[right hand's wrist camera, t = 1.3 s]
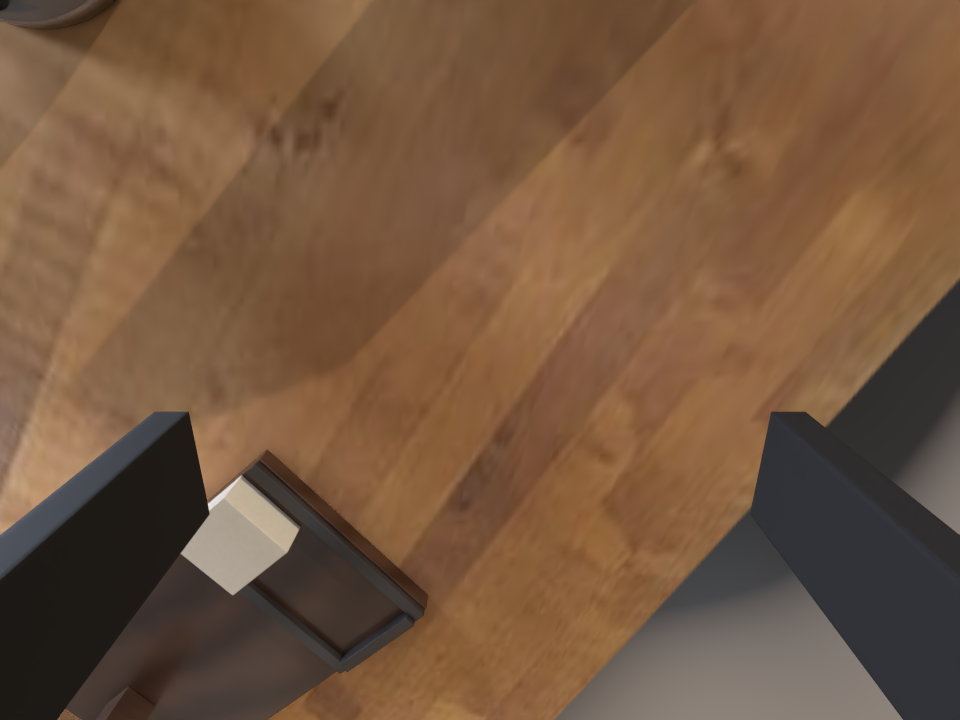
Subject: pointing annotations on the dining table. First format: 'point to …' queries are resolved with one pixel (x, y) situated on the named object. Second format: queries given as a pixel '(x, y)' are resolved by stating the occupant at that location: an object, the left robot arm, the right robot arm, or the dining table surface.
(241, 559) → the slider
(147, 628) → the slider board
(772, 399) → the dining table surface
